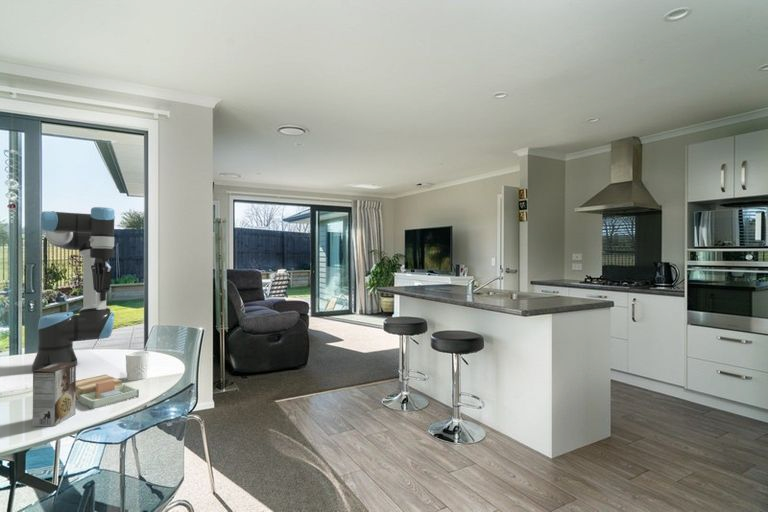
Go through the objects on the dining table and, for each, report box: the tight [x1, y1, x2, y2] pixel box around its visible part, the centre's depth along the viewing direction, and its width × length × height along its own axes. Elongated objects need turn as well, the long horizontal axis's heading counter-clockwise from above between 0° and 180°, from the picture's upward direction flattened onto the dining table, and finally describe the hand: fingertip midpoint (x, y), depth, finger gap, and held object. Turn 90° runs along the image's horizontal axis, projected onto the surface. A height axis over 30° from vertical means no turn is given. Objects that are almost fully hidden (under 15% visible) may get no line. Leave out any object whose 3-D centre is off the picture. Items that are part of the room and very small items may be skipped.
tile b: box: [100, 390, 123, 399], centre depth 137 cm, size 5×5×2 cm
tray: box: [78, 383, 140, 410], centre depth 137 cm, size 10×14×2 cm
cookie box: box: [31, 363, 77, 427], centre depth 120 cm, size 9×6×16 cm
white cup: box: [125, 350, 150, 382], centre depth 161 cm, size 8×8×10 cm
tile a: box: [96, 380, 115, 399], centre depth 139 cm, size 5×5×2 cm
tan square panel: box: [76, 374, 123, 401], centre depth 144 cm, size 13×12×4 cm
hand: (101, 309), depth 155 cm, fingers closed
